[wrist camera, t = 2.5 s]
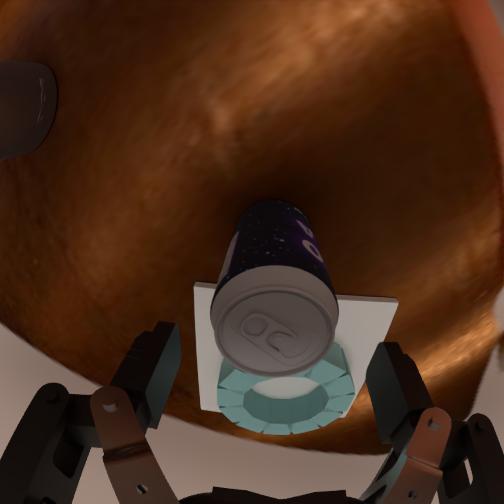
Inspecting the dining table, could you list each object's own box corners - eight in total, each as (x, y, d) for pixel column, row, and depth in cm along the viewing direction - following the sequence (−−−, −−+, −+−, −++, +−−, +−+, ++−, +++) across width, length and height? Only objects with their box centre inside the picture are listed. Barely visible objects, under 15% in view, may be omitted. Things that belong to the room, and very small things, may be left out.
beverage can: (281, 278, 24) (286, 397, 13) (222, 241, 23) (181, 347, 12) (324, 225, 22) (372, 323, 11) (263, 181, 20) (256, 248, 10)
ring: (221, 405, 30) (217, 429, 27) (222, 323, 25) (216, 349, 22) (329, 411, 30) (332, 434, 27) (363, 332, 25) (373, 358, 21)
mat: (202, 404, 32) (201, 409, 31) (196, 281, 24) (194, 286, 24) (343, 412, 31) (344, 417, 31) (395, 298, 24) (398, 302, 23)
